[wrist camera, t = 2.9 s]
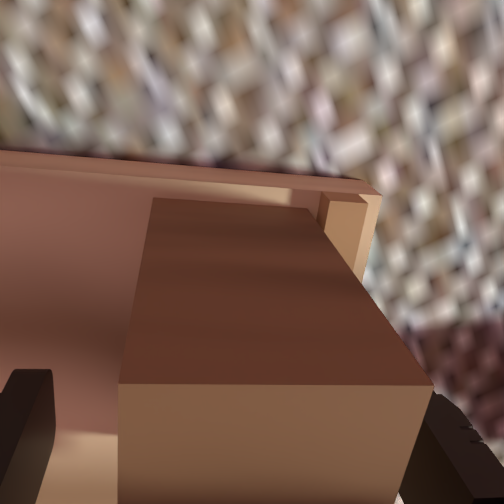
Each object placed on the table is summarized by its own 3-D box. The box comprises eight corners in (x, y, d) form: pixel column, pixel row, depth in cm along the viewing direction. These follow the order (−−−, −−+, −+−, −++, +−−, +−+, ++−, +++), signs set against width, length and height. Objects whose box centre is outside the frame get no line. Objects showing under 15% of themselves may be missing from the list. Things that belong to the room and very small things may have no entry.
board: (-175, 135, 12) (-253, 156, 9) (363, 180, 14) (394, 205, 12) (-53, 633, 20) (-80, 702, 18) (269, 608, 22) (278, 667, 20)
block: (152, 197, 12) (117, 383, 5) (307, 208, 12) (434, 385, 6) (144, 460, 15) (116, 755, 9) (264, 457, 16) (315, 731, 10)
